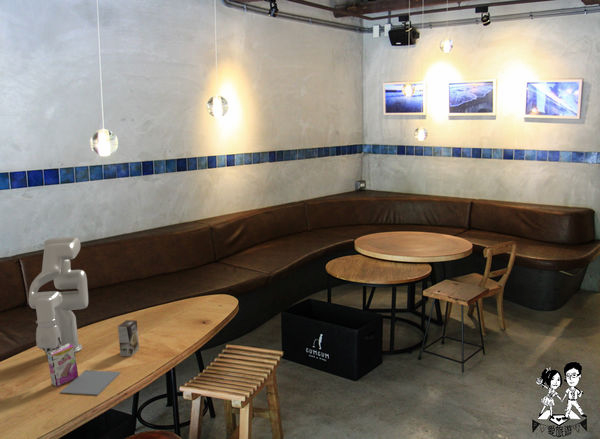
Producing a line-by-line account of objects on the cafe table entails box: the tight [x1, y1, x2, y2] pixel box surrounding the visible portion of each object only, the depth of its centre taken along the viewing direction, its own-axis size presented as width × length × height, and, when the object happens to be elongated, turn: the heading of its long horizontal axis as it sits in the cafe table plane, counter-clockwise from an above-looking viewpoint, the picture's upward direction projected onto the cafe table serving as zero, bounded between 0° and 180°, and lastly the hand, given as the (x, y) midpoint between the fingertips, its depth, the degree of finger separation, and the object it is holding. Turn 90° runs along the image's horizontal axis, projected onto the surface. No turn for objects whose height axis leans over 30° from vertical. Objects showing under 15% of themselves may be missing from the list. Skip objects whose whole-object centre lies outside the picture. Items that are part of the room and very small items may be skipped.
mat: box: [59, 369, 121, 396], centre depth 273 cm, size 18×22×1 cm
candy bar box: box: [46, 344, 79, 388], centre depth 273 cm, size 11×5×16 cm, turn 140°
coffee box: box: [117, 319, 140, 357], centre depth 304 cm, size 9×6×16 cm
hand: (51, 360), depth 274 cm, fingers closed
